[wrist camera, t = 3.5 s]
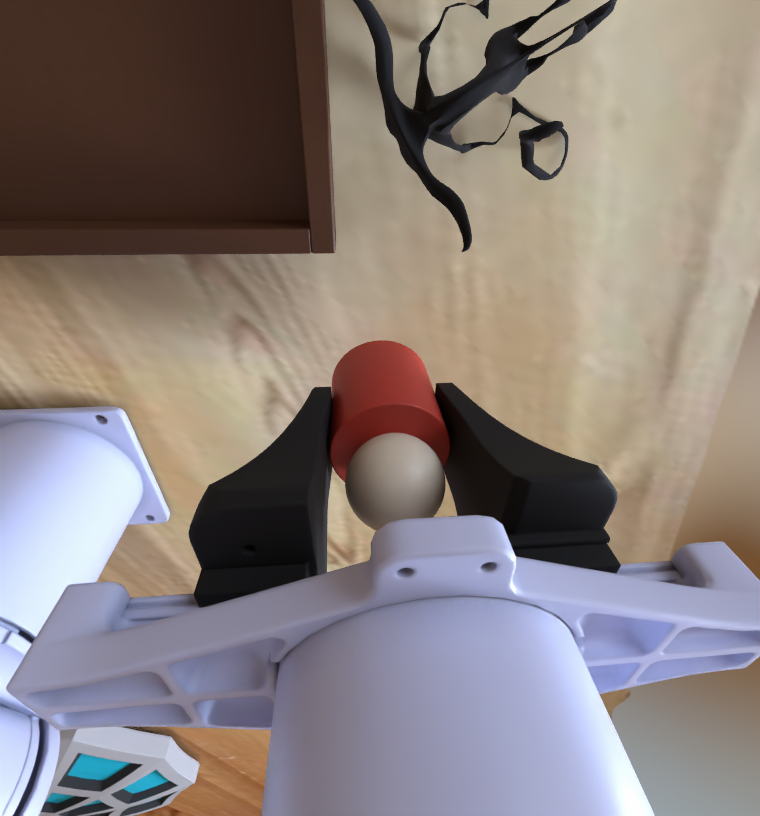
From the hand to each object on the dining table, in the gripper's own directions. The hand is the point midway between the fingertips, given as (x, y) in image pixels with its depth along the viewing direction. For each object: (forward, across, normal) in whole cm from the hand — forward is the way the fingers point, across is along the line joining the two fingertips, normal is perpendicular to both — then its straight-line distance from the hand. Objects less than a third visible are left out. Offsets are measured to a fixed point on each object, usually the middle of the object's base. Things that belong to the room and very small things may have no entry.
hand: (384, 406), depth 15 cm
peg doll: (+2, 0, 0) cm, 2 cm away
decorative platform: (+4, +36, +50) cm, 62 cm away
